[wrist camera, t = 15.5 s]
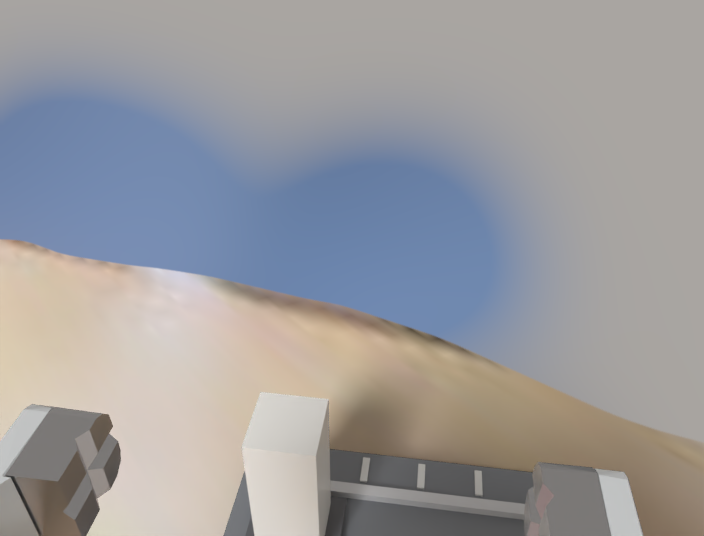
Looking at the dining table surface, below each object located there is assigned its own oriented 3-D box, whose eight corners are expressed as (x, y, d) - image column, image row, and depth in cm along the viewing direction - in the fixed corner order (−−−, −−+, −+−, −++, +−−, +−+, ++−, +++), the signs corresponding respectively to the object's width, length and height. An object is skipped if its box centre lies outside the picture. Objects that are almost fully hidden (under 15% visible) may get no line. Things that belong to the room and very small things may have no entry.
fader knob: (346, 503, 42) (347, 394, 36) (335, 574, 38) (333, 466, 32) (259, 492, 43) (246, 383, 37) (239, 561, 39) (220, 453, 33)
